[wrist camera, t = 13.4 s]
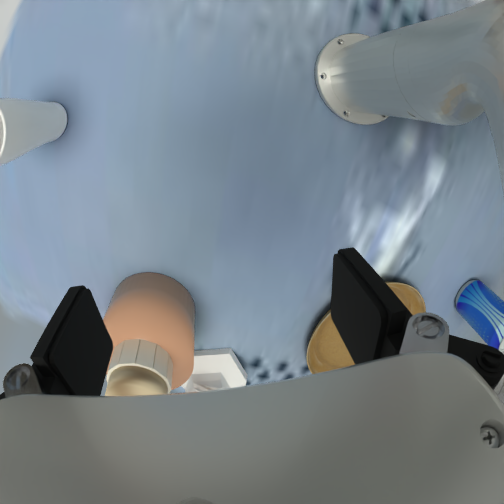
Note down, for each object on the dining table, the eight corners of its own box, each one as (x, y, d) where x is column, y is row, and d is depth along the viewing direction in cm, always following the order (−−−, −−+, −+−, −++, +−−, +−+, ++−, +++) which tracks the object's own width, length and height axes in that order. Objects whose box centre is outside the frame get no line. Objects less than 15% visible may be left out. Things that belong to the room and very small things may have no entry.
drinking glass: (64, 152, 32) (-3, 182, 19) (27, 138, 30) (-45, 162, 17) (81, 103, 30) (14, 107, 17) (42, 91, 28) (-31, 94, 15)
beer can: (482, 288, 54) (525, 329, 39) (459, 315, 56) (499, 360, 42) (473, 270, 51) (522, 313, 36) (448, 299, 53) (493, 348, 39)
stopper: (160, 341, 33) (154, 385, 27) (175, 380, 36) (173, 421, 30) (106, 345, 32) (94, 386, 27) (126, 382, 35) (119, 421, 30)
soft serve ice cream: (170, 383, 55) (147, 434, 41) (197, 328, 51) (174, 379, 37) (228, 408, 55) (217, 462, 42) (263, 358, 51) (259, 414, 38)
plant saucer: (429, 263, 48) (439, 272, 45) (403, 357, 59) (409, 367, 56) (303, 285, 46) (309, 298, 43) (300, 383, 57) (304, 396, 54)
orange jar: (185, 266, 42) (177, 340, 29) (202, 336, 48) (203, 412, 34) (101, 278, 41) (67, 348, 28) (128, 343, 47) (111, 415, 34)
